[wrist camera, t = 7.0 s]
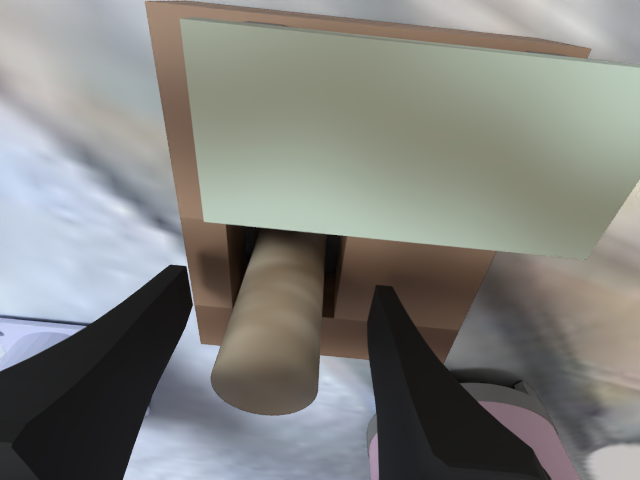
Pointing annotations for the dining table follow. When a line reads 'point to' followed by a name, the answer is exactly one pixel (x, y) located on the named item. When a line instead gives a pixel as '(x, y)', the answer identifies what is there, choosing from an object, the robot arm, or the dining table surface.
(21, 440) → the robot arm
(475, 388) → the blender
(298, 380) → the peg
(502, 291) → the dining table surface
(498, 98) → the socket deck
